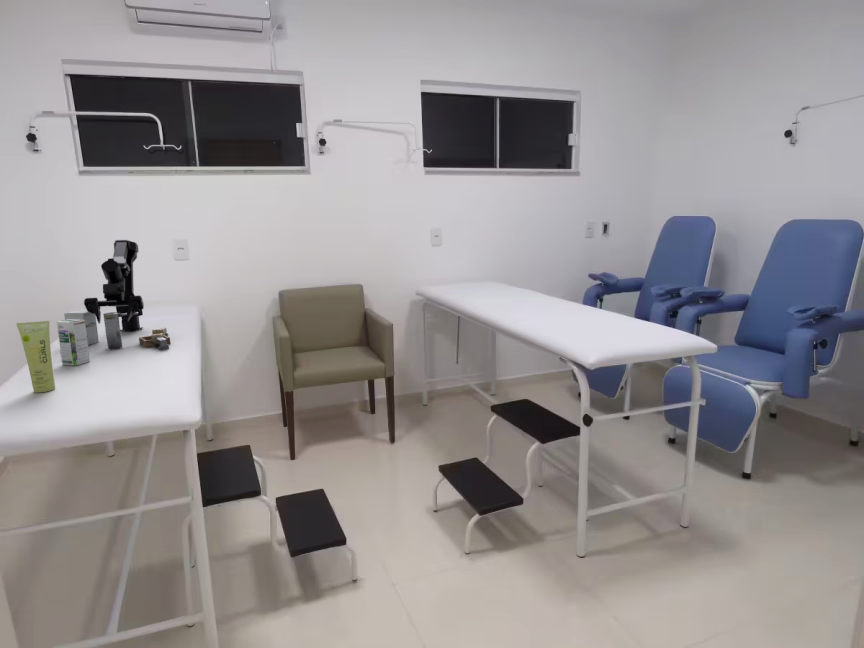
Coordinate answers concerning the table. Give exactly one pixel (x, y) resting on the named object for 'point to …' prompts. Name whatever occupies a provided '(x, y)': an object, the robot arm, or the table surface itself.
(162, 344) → the grey and wooden pieces
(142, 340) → the hollow wooden square frame
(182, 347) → the table surface
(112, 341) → the grey cylinder
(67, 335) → the syrup box
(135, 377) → the table surface
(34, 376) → the tube
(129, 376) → the table surface
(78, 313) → the supplement box
